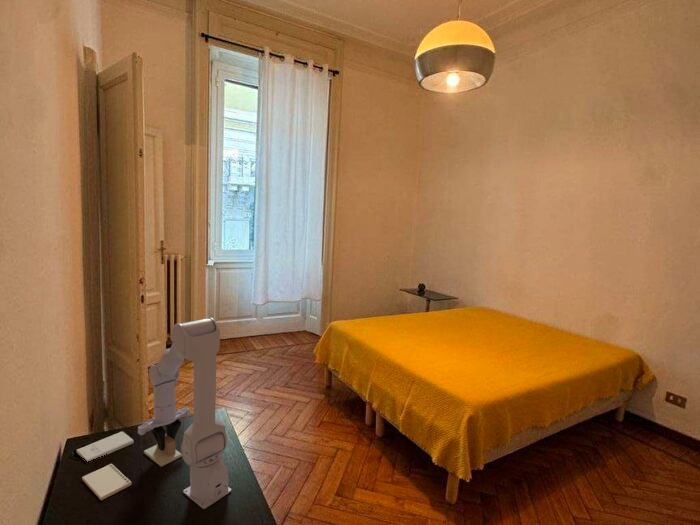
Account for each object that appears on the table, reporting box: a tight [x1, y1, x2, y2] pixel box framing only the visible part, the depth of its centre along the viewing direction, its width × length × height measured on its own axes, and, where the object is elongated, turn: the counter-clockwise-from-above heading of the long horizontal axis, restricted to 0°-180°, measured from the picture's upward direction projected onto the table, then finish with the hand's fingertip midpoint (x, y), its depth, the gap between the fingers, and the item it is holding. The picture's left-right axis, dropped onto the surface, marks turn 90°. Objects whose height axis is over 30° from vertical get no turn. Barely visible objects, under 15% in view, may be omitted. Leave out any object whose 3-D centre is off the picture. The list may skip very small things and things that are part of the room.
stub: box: [143, 433, 182, 467], centre depth 109 cm, size 10×6×5 cm, turn 54°
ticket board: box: [81, 463, 132, 501], centre depth 98 cm, size 12×7×1 cm, turn 54°
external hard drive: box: [76, 431, 135, 462], centre depth 113 cm, size 2×8×12 cm
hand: (166, 447), depth 110 cm, fingers closed on stub, 2 cm apart
